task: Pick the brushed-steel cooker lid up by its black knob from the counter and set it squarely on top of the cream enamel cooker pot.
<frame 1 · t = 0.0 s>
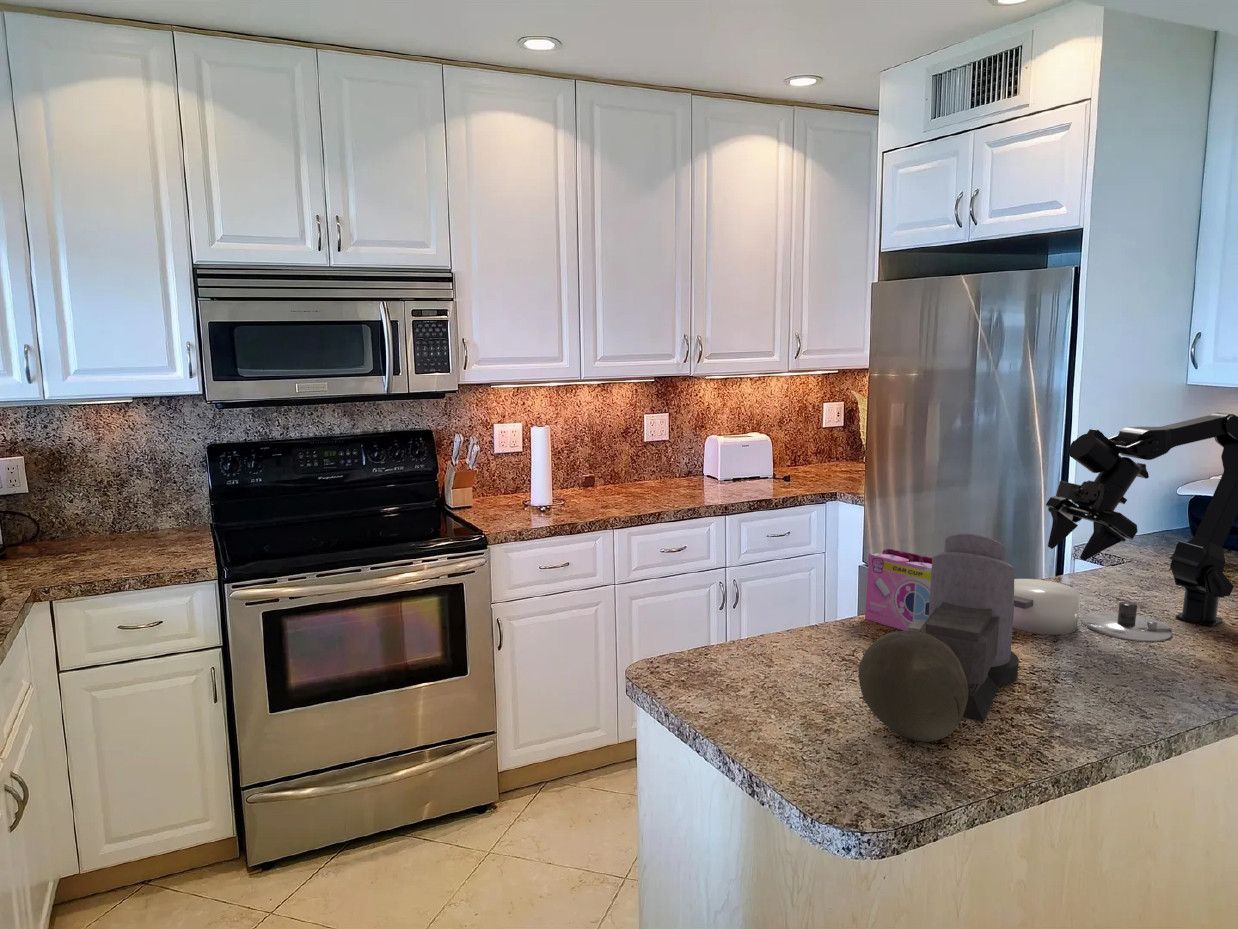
hand: (1065, 553, 164), 15 cm above the counter, tool tilted 35°, fingers open, 9 cm apart
cooker pot: (1037, 622, 169), on the counter
juicer: (959, 681, 140), on the counter
cantaloupe: (909, 738, 119), on the counter
pink product box: (925, 631, 164), on the counter
cooker lid: (1125, 629, 166), on the counter
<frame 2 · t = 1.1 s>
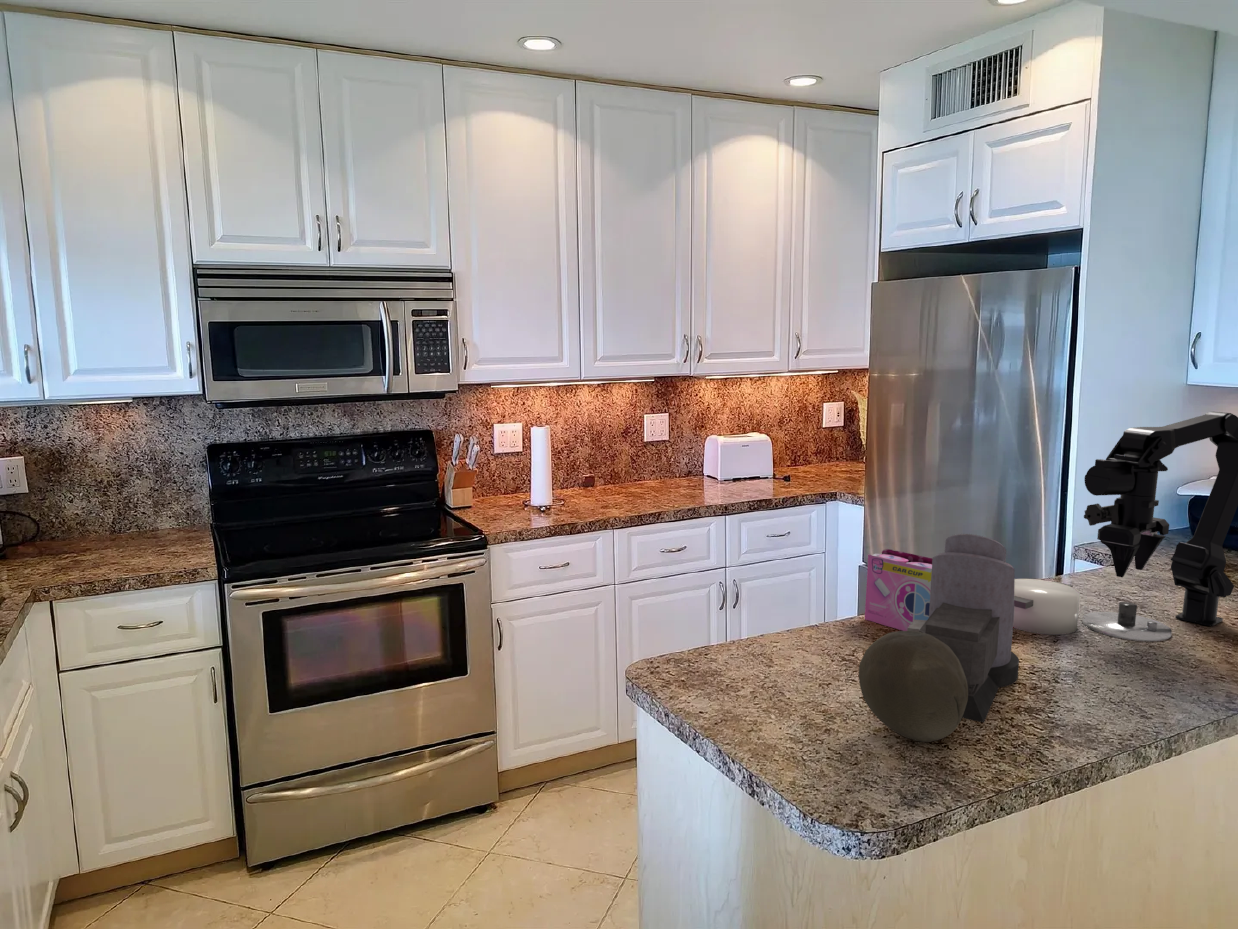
hand: (1129, 573, 164), 11 cm above the counter, tool pointing down, fingers open, 9 cm apart
nothing on the counter moved.
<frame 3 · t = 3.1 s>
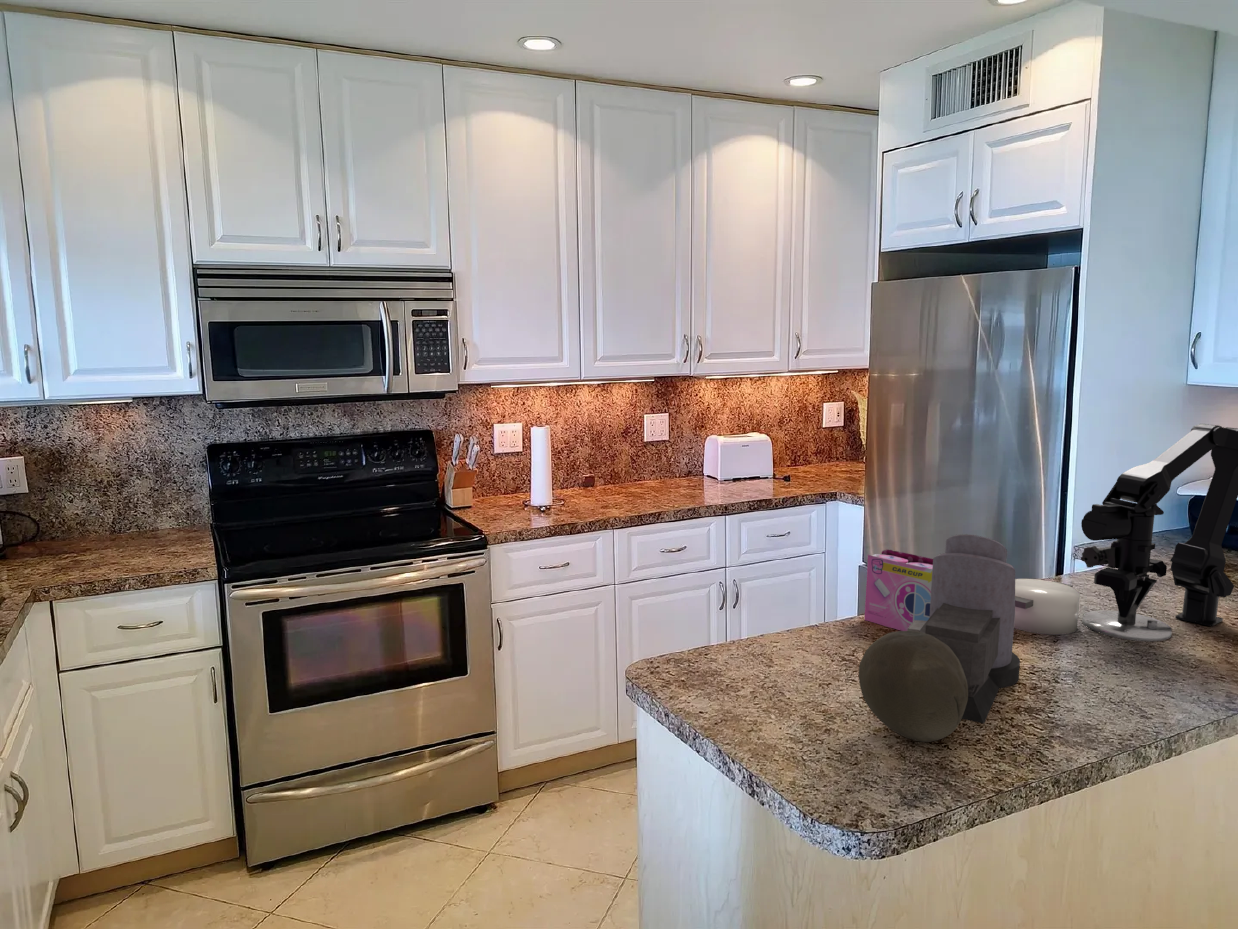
hand: (1126, 615, 166), 3 cm above the counter, tool pointing down, fingers closed on cooker lid, 3 cm apart
cooker lid: (1125, 628, 166), on the counter, touching gripper
everything else where it was.
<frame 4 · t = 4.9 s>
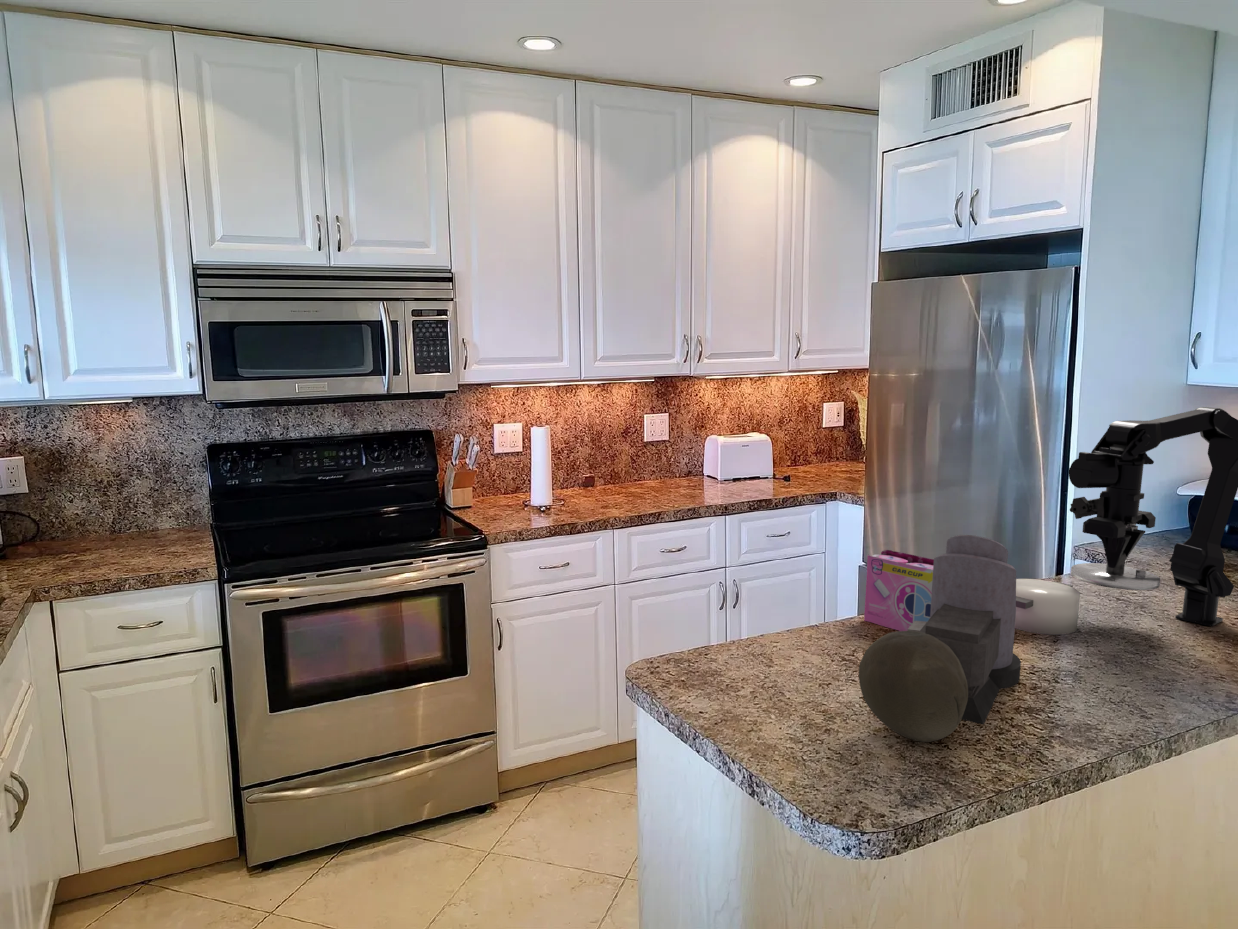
hand: (1115, 566, 165), 12 cm above the counter, tool pointing down, fingers closed on cooker lid, 3 cm apart
cooker lid: (1114, 579, 165), point 10 cm above the counter, touching gripper
everything else where it was.
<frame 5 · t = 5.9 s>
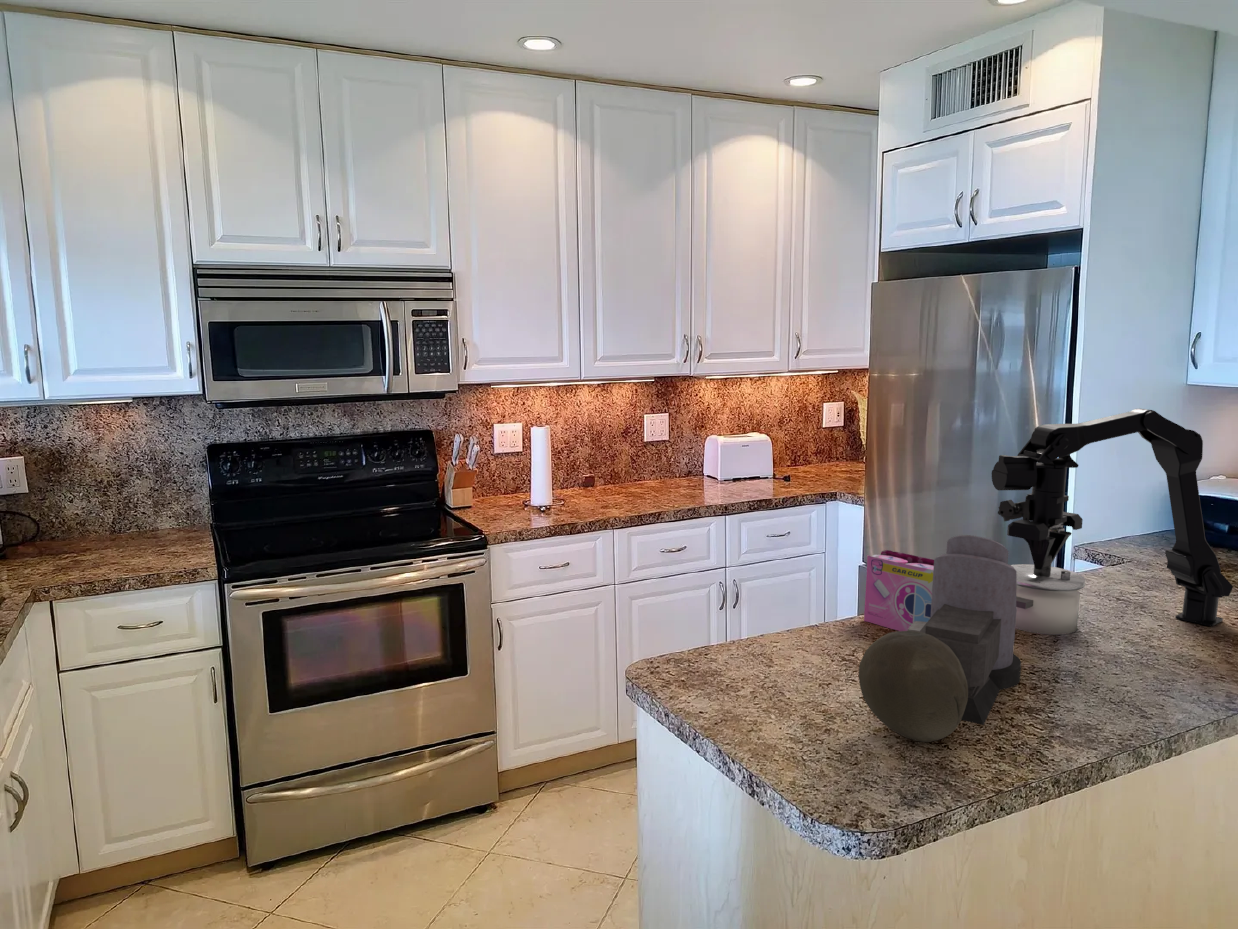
hand: (1042, 567, 167), 11 cm above the counter, tool pointing down, fingers closed on cooker lid, 3 cm apart
cooker lid: (1041, 580, 167), point 9 cm above the counter, touching gripper
when the fingers open (11 cm above the counter, at t = 6.6 s): cooker lid drops 1 cm, resting on cooker pot.
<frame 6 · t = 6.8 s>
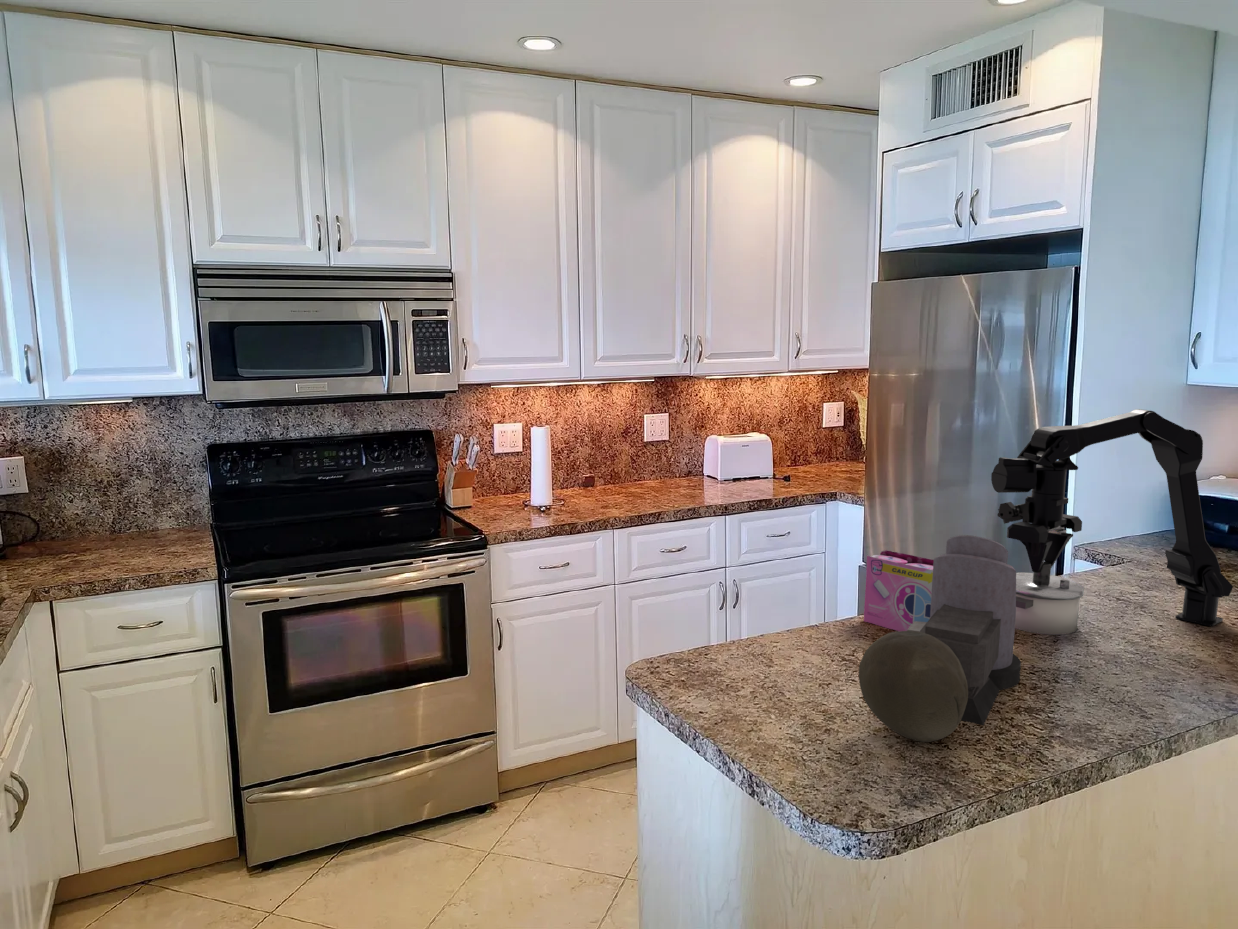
hand: (1041, 570, 167), 11 cm above the counter, tool pointing down, fingers open, 5 cm apart
cooker lid: (1040, 588, 168), point 7 cm above the counter, touching cooker pot
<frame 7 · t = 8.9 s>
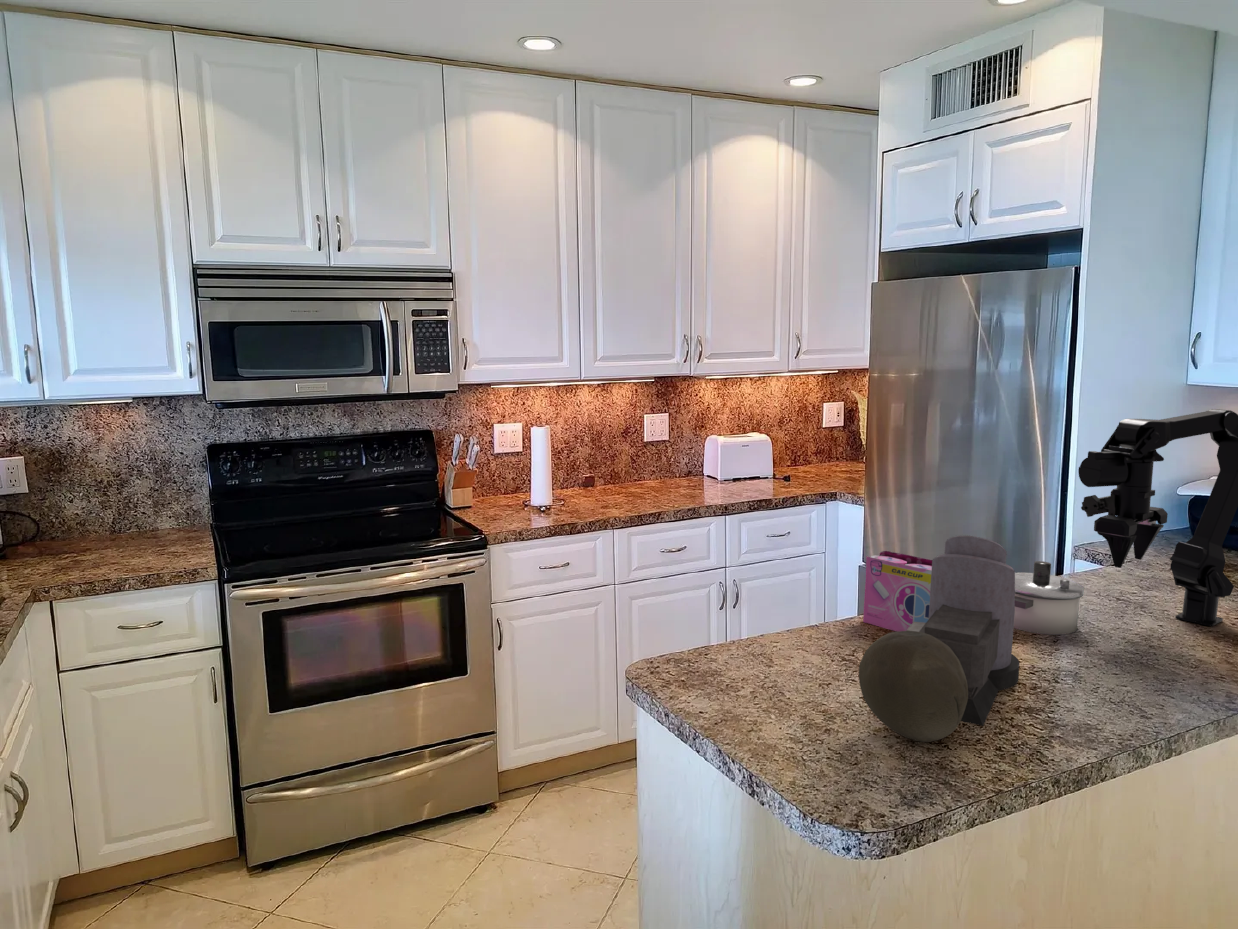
hand: (1128, 563, 166), 13 cm above the counter, tool pointing down, fingers open, 9 cm apart
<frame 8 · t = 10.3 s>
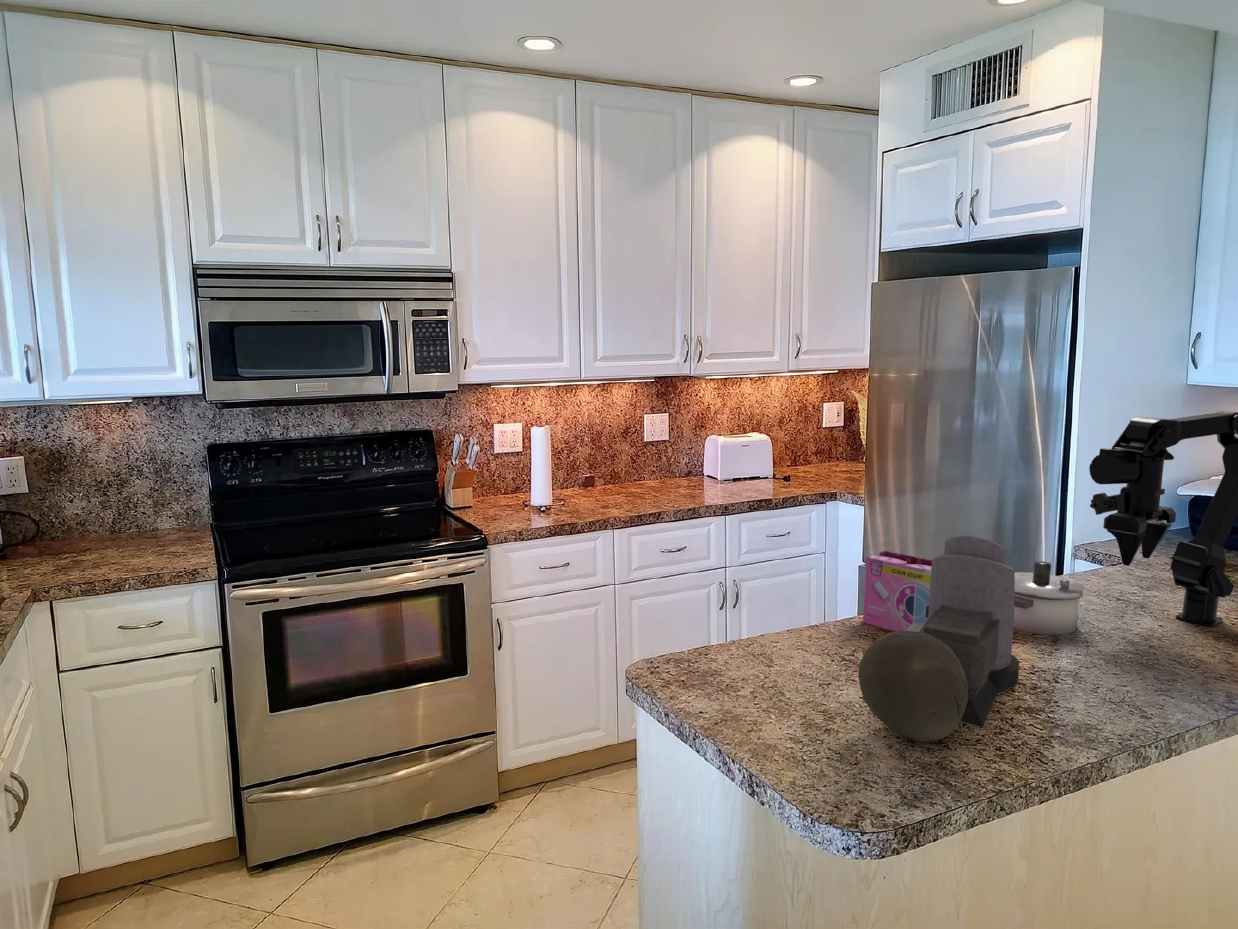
hand: (1136, 561, 165), 13 cm above the counter, tool pointing down, fingers open, 9 cm apart
at the end: cooker lid 0.1 cm from the cooker pot (horizontally); cooker lid point 7.0 cm above the counter; cooker lid tilted 0° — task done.
